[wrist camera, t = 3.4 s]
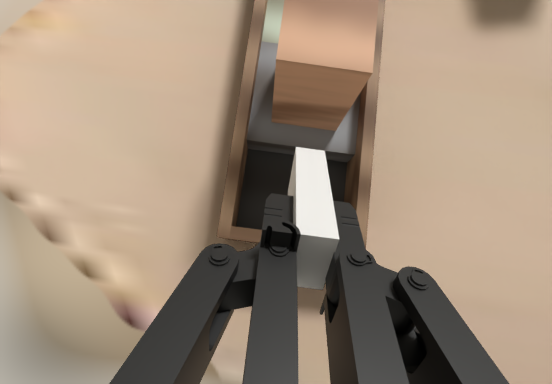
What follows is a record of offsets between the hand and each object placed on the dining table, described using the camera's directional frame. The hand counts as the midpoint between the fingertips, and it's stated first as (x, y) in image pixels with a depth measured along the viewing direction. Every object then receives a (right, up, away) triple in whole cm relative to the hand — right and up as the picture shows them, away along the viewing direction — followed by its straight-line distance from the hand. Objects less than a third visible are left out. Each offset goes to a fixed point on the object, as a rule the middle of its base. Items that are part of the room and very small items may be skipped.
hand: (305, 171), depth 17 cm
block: (+1, +8, +13) cm, 15 cm away
